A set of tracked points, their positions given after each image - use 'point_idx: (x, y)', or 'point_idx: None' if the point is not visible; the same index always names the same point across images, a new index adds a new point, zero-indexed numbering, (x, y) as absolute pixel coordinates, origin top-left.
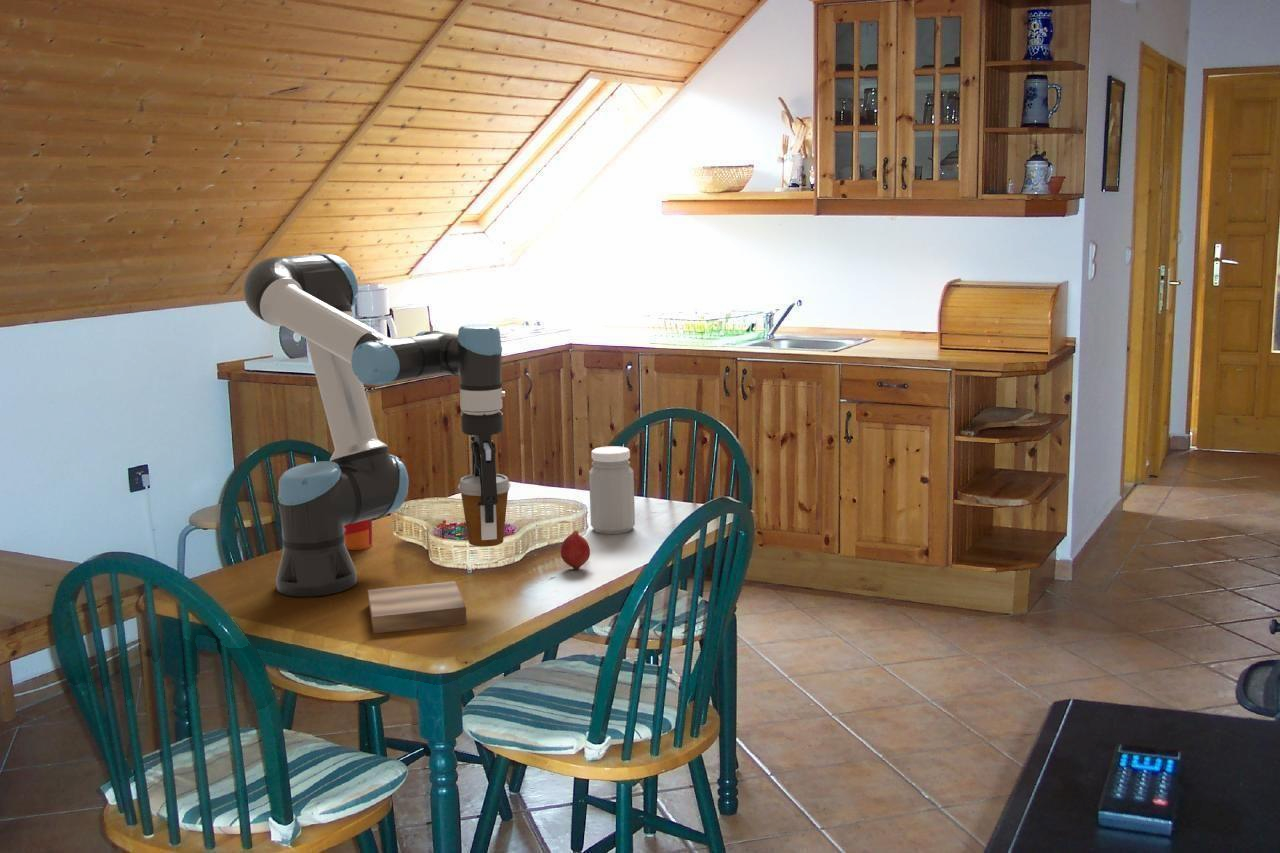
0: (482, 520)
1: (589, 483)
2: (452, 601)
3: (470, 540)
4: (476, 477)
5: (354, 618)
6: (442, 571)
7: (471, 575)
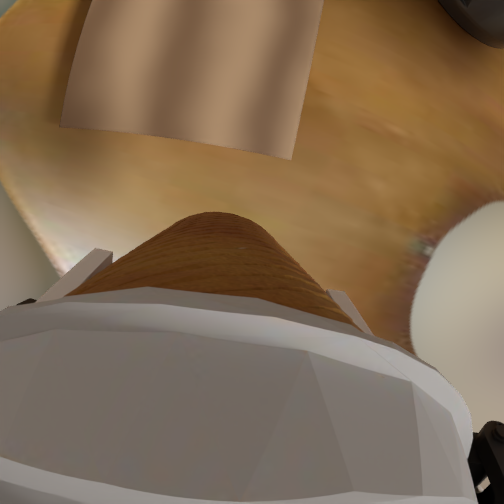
0: (50, 295)
1: (478, 488)
2: (113, 103)
3: (197, 216)
4: None
5: None
6: (462, 203)
7: (410, 246)
